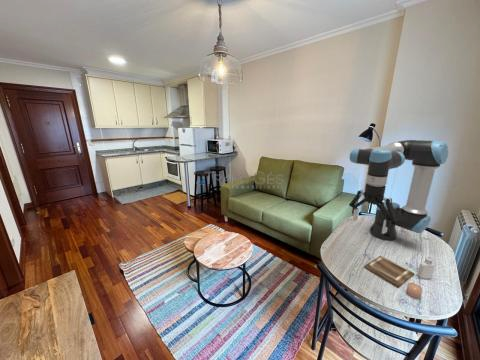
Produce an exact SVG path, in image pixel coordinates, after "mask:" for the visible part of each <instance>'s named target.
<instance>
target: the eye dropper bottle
mask: <svg viewBox="0 0 480 360" xmlns="http://www.w3.org/2000/svg"><path fill="white" fill-rule="evenodd" d="M435 268H436V267H435V264H434V263H433V259H432V256H430V255H429V256H428V257H425V259H424V261H422V262H420V264H419V267H418V270H417V276H418V277H419V278H420V279H423V280H430V279H432V278H433V275H434V271H435Z"/></svg>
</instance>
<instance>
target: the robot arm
mask: <svg viewBox="0 0 480 360" xmlns="http://www.w3.org/2000/svg"><path fill="white" fill-rule="evenodd" d="M448 156H449V147H448V144H447V143H446V142H444V141H440V140H439V141H438V140H421V139H420V140H419V139H417V140H415V139H405V140H400V141H394V142H390V143H388V144H387V145H381V146H376V147H370V148H364V149H363V148H362V149H361V148H354V149H352V150H351V151H350V153H349V161H350V162H351V163H353V164H356V165H357V164H359V165H365V166H368V168H367V175H366V183H365V185H364V186H365V188H364V190H363V189H360V190H357V192H356V195H355V196H354V197H353V199H352V200H351V201H350V203H349V204H348V205H349V207H352V210H351V214H352V215H353V216H352V222H356V221H358V218H359V217H358V216H359V210H360V208H359V207H360V206H361V205H363V204H365V203H366V202H367V203H368V204H372V205H374V206H375V205H376V209H375V214H374V215H375V216H374V222H373V223H372V225H371V226H370V228H369V233H370V234H371V236H373V237H374V238H377V239H380V240H384V241H395V240H396V239H397V238H398V237H397V236H398V234H397V229H396V226H397V227H399V228H402V229H404V230H407V231H410V232H414V233H416V234H421V233H423V232H425V230H426V229H427V228H428V226H429V224H430V223H431V218H432V217H431V216H429V215H428V213H429V212H428V210H427V209H426V206H427V202H428V199H429V195H430V191H431V186H432V183H433V180H434V174H435V170H436V169H438V168H440V167H441V165H443V164H445V163H446V162H447V159H448ZM406 160H407V161H412V162H411V165H412V166H413V167H414V168H413V173H412V177H411V183H410V186H409V192H408V195H407V200H406V204H405V205H403V206H402V207H401V206H400V204H399V203H397V202H393V198H392V197H385V193H386V188H387V186H386V185H387V183H388V182H387V181H388V177H389V171H390V170H392V169H396V168H398V167H401V166H403V164H405V161H406ZM362 196H363V197H364V198H363V199H361V200H360V201H359V199H360V198H361V197H362ZM358 201H359V202H358Z"/></svg>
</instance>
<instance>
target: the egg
mask: <svg viewBox="0 0 480 360" xmlns="http://www.w3.org/2000/svg"><path fill="white" fill-rule="evenodd" d="M405 293H406V294H407V295H408V296H409V297H410V298H413V299H416V300H417V299H418V300H419V299H421V297H422V293H423V288H422V287H421V286H420V285H419V284H416V283H414V282H408V283H407V286H406V291H405Z"/></svg>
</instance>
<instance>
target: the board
mask: <svg viewBox="0 0 480 360" xmlns="http://www.w3.org/2000/svg"><path fill="white" fill-rule="evenodd" d="M363 269H365V270H367V271H369V272H370V273H372V274H374V275H375V276H377V277H379V278H381V279H382V280H383V281H385V282H387V283H389V284H390V285H392V286H394V287H396V288H397V289H399V288H400V287H402V286H403V285H404V284H405V283H406V282H408V281H409V280H411V278H413V277H414V276H415V272H413V271H411V270H410V269H408V268H405V267H404V266H402V265H400V264H398V263H396V262H394V261H393V260H391V259H388V258H387V257H384V256H383V255H379V256H378V257H376V258H374V259H372V260H371V261H370V262H367V263H366V264H365V265H364V266H363Z"/></svg>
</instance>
